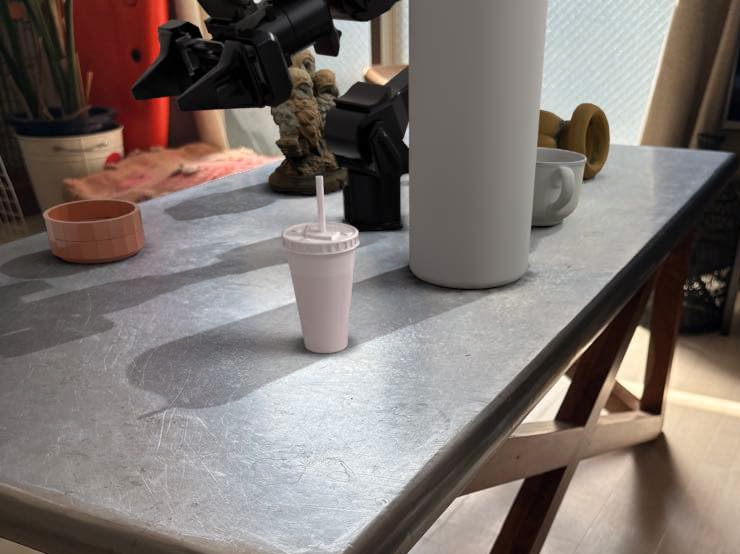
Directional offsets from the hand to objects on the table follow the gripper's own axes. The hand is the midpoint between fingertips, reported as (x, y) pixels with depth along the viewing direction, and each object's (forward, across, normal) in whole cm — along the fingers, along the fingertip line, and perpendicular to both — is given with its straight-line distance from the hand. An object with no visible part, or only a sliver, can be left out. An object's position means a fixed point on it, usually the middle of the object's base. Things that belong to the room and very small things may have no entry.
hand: (154, 100), depth 84 cm
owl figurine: (-27, -22, +27) cm, 44 cm away
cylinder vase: (-16, +21, +23) cm, 35 cm away
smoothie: (+6, +27, +15) cm, 32 cm away
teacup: (-34, +14, +29) cm, 47 cm away
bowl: (+9, -12, +14) cm, 21 cm away
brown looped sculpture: (-51, -7, +35) cm, 62 cm away
